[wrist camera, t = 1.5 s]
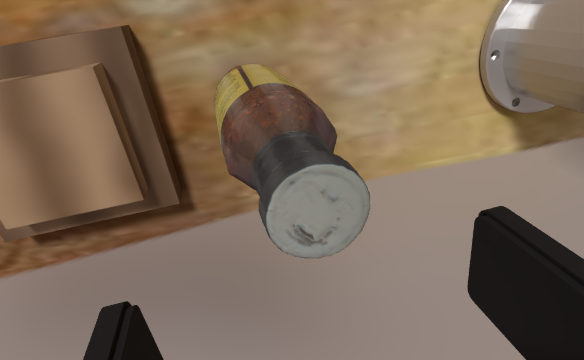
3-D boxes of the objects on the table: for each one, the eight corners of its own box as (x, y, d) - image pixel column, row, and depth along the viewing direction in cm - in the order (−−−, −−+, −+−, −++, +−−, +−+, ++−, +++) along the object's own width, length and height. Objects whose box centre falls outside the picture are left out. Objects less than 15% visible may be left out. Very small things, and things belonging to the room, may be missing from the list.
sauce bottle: (231, 144, 32) (253, 314, 14) (201, 76, 29) (182, 184, 11) (300, 118, 32) (406, 254, 14) (278, 47, 29) (375, 110, 12)
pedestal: (128, 24, 26) (112, 28, 22) (182, 190, 33) (177, 215, 29) (-79, 58, 25) (-135, 68, 21) (20, 225, 31) (-9, 257, 27)
